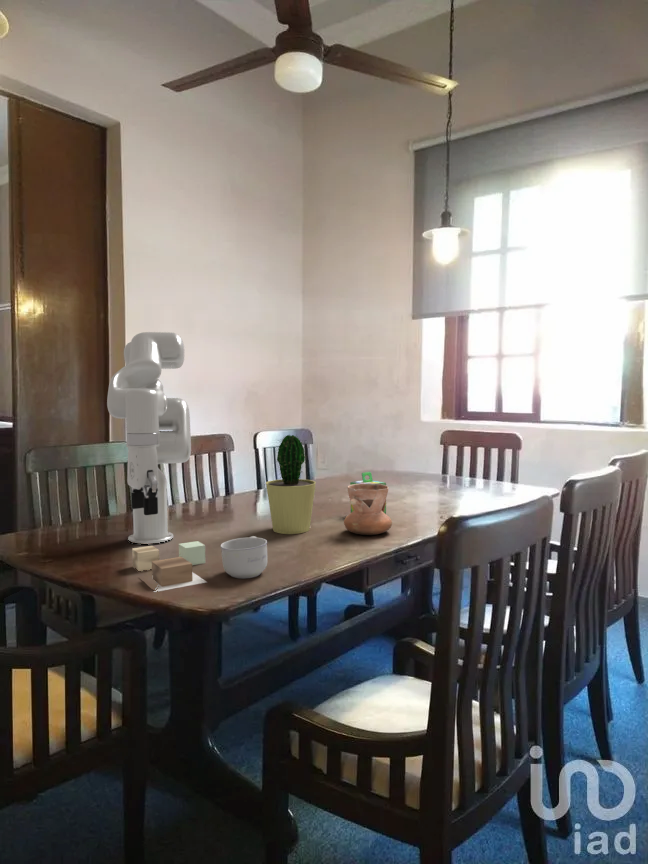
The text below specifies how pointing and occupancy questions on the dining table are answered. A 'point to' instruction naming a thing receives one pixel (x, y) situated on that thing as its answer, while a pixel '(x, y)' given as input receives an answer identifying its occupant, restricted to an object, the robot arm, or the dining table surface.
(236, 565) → the teacup
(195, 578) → the white mat
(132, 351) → the robot arm
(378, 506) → the ceramic jug
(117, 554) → the dining table surface
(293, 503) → the potted cactus
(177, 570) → the walnut base brick
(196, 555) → the sage block
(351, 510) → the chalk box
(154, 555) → the maple block
